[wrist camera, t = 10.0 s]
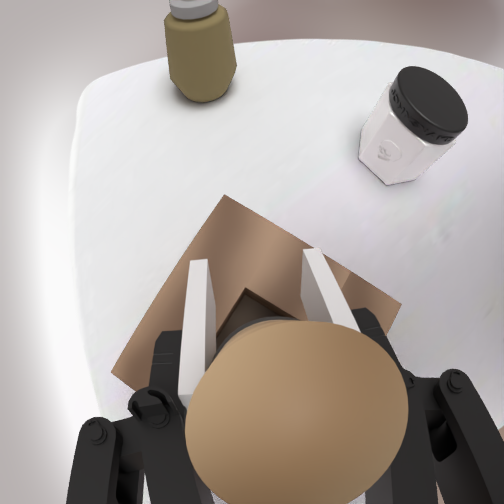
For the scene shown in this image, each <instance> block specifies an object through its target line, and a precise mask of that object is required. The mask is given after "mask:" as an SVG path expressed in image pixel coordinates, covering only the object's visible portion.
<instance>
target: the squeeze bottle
mask: <svg viewBox="0 0 504 504" xmlns="http://www.w3.org/2000/svg"><path fill="white" fill-rule="evenodd" d="M169 3H170V8H171V12H170V13H169V14H168V15H167V17H166V18H165V20H164V25H165V36H166V45H167V53H168V54H167V55H168V64H169V72H170V79H171V80H172V81H173V83H174V84H175V85H176V86H177V87H178V88H179V89H180V90H181V91H182V93H183V94H184V95H185V96H186V97H187V98H188V99H190V100H192V101H195V102H208V101H213V100H215V99H217V98H219V97H221V96H222V95H223V94H224V93H225V92H226V91H227V89H228V86H229V84H230V82H231V80H232V78H233V76H234V73H235V70H236V67H237V64H236V58H235V52H234V46H233V40H232V35H231V29H230V22H229V17H228V13H227V10H226V9H225V8H224V7H222V6H221V5H219V4H218V0H169Z"/></svg>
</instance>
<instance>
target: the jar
mask: <svg viewBox="0 0 504 504" xmlns="http://www.w3.org/2000/svg"><path fill="white" fill-rule="evenodd" d="M467 124H468V114H467V110H466V107H465V105H464V103H463V101H462V99H461V97H460V96H459V95H458V93H457V92H456V91H455V90H454V88H453V87H452V86H451V85H450V84H449V83H448V82H446V81H445V80H444V79H443V78H441V77H440V76H439V75H437V74H435V73H434V72H432V71H430V70H427V69H425V68H421V67H416V66H409V67H405V68H403V69H402V70H401V71H400V72H399V73H398V75H397V77H396V79H395V80H394V82H390V83H388V85H387V87H386V89H385V90H384V92H383V94H382V96H381V97H380V99H379V101H378V102H377V104H376V106H375V108H374V109H373V111H372V113H371V114H370V116H369V118H368V120H367V121H366V123H365V125H364V126H363V128H362V130H361V140H360V149H359V160H360V161H361V162H363V163H364V164H365V165H366V166H367V167H368V168H369V169H370V170H371V171H372V172H373V173H374V174H375V175H377V176H378V177H379V178H380V179H381V180H382V181H383V182H384V183H385V184H386V185H392V184H397V183H402V182H407V181H412V180H416V179H417V178H418V177H419V176H420V175H421V174H422V173H424V172H425V171H426V170H427V169H428V168H429V167H430V166H431V165H433V164H434V163H435V162H436V161H437V160H438V159H439V158H440V157H442V156H443V155H444V154H445V153H446V152H447V151H448V150H449V149H450V148H451V147H453V146H454V145H455V144H456V140H455V138H456V137H457V136H458V135H459V134H460V133H461V132H462V131H463V130H464V129H465V128H466V126H467Z"/></svg>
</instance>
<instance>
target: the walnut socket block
mask: <svg viewBox="0 0 504 504" xmlns="http://www.w3.org/2000/svg"><path fill="white" fill-rule="evenodd" d="M311 248H313V247H311V246H310V245H308V244H307V243H305V242H303V241H302V240H300V239H298V238H297V237H295V236H293V235H292V234H290V233H289V232H287V231H285V230H284V229H282V228H280V227H279V226H277V225H275V224H274V223H272V222H270V221H269V220H267V219H265V218H264V217H262V216H260V215H259V214H257V213H255V212H253V211H252V210H250V209H248V208H247V207H245V206H243V205H242V204H240V203H238V202H236V201H235V200H233V199H231V198H230V197H228V196H226V195H224V196H223V197H222V199H221V200H220V201H219V203H218V204H217V206H216V207H215V209H214V210H213V211H212V213H211V214H210V216H209V217H208V219H207V220H206V222H205V223H204V224H203V226H202V227H201V229H200V230H199V232H198V233H197V235H196V236H195V238H194V239H193V241H192V242H191V244H190V245H189V247H188V248H187V250H186V251H185V253H184V254H183V256H182V257H181V259H180V260H179V262H178V263H177V265H176V266H175V268H174V269H173V271H172V272H171V274H170V276H169V277H168V279H167V280H166V282H165V283H164V285H163V286H162V288H161V290H160V291H159V293H158V294H157V296H156V298H155V299H154V301H153V302H152V304H151V305H150V307H149V309H148V310H147V312H146V314H145V315H144V317H143V318H142V320H141V322H140V323H139V325H138V327H137V328H136V330H135V332H134V333H133V335H132V337H131V338H130V340H129V342H128V343H127V345H126V347H125V348H124V350H123V352H122V353H121V355H120V357H119V359H118V360H117V362H116V364H115V366H114V367H113V369H112V371H111V373H112V374H114V375H115V376H116V377H117V378H119V379H120V380H121V381H123V382H124V383H125V384H126V385H128V386H129V387H130V388H132V389H133V390H135V391H136V392H137V391H138V390H139V389H142V388H144V387H147V386H149V379H150V372H151V365H152V359H153V356H154V354H153V352H154V346H155V341H156V340H157V338H158V337H159V335H160V334H161V332H162V331H173V330H183V321H184V311H185V301H186V292H187V283H188V275H189V266H190V261H191V260H201V259H208V265H209V271H210V277H211V282H212V288H213V294H214V300H215V305H216V351H217V350H218V348H219V347H220V345H221V344H222V343H223V341H224V340H225V339H226V338H227V337H228V336H229V335H230V334H231V333H232V332H234V331H235V330H236V329H237V328H239V327H241V326H242V325H244V324H246V323H248V322H251V321H253V320H257V319H260V318H265V317H279V316H280V317H290V318H294V319H298V320H301V321H308V318H307V315H306V312H305V309H304V305H303V302H302V299H301V278H302V258H303V249H311ZM322 254H323V253H322ZM323 256H324V258H325V260H326V262H327V264H328V266H329V268H330V269H331V271H332V273H333V275H334V277H335V280H336V282H337V284H338V286H339V288H340V290H341V292H342V294H343V296H344V298H345V300H346V302H347V304H348V306H349V308H350V310H353V309H359V308H364V307H366V308H367V309H368V310H370V311H371V312H372V313H373V314H374V315H375V316H376V318H377V320H378V321H379V323H380V325H381V328H382V329H383V331H384V333H385V336H386V335H387V333H388V331H389V329H390V327H391V325H392V323H393V321H394V319H395V317H396V315H397V313H398V311H399V309H400V307H401V303H399V302H398V301H396V300H394V299H393V298H391V297H390V296H388V295H387V294H385V293H384V292H382V291H381V290H379V289H378V288H376V287H375V286H373V285H372V284H370V283H368V282H367V281H365V280H364V279H362V278H361V277H359V276H358V275H356V274H354V273H353V272H351V271H350V270H348V269H347V268H345V267H343V266H342V265H340V264H339V263H337V262H335V261H334V260H332V259H331V258H329V257H328V256H326V255H324V254H323Z"/></svg>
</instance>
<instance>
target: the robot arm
mask: <svg viewBox="0 0 504 504" xmlns="http://www.w3.org/2000/svg"><path fill="white" fill-rule="evenodd" d="M301 299H302V302H303V305H304V309H305V312H306V315H307V318H308V321H317V322H328V323H333V324H339V325H342V326H345V327H348V328H351V329H354V330H356V331H358V332H360V333H362V334H364V335H366V336H368V337H369V338H371V339H372V340H373V341H375V342H376V343H378V344H379V345H380V346H381V347H382V348H383V349H384V350H385V351H386V352H387V353H388V354H389V356H390V357H391V358H392V359H393V361H394V362H395V364H396V365H397V367H398V369H399V371H400V373H401V375H402V378H403V381H404V383H405V387H406V391H407V396H408V421H407V426H406V431H405V435H404V438H403V441H402V444H401V446H400V448H399V450H398V452H397V454H396V456H395V458H394V460H393V461H392V463H391V464H390V466H389V467H388V469H387V470H386V471H385V472H384V474H383V475H382V476H381V477H380V478H379V479H378V480H377V481H376V482H375V483H374V484H373V485H372V486H371V487H370V488H369V489H368V490H366V491H365V496H366V504H438V497H437V486H436V481H437V484H438V487H439V489H440V492H441V494H442V497H443V500H444V503H445V504H504V441H503V439H502V437H501V436H500V433H499V431H498V429H497V427H496V425H495V423H494V421H493V419H492V418H491V416H490V414H489V412H488V410H487V408H486V407H485V405H484V403H483V401H482V399H481V398H480V396H479V394H478V392H477V391H476V389H475V387H474V385H473V384H472V382H471V380H470V379H469V377H468V376H467V375H466V374H465V373H464V372H462V371H460V370H458V369H449V370H446V371H445V372H443V373H442V375H441V376H440V378H421V377H415V376H414V375H413V374H412V373H411V372H410V371H407V370H405V369H403V368H402V366H401V365H400V363H399V361H398V359H397V357H396V355H395V353H394V351H393V349H392V347H391V345H390V343H389V341H388V339H387V337H386V336H385V333H384V331H383V329H382V328H381V325H380V323H379V321H378V320H377V318H376V316H375V315H374V314H373V313H372V312H371V311H370V310H368V309H367V308H366V307H364V308H359V309H353V310H350V308H349V306H348V304H347V302H346V300H345V298H344V296H343V294H342V292H341V290H340V288H339V286H338V284H337V282H336V280H335V277H334V275H333V273H332V271H331V269H330V268H329V266H328V264H327V262H326V260H325V258H324V256H323V254H322V252H321V250H320V248H311V249H303V258H302V278H301ZM215 353H216V305H215V300H214V294H213V288H212V282H211V277H210V271H209V265H208V259H201V260H191V261H190V266H189V275H188V283H187V292H186V301H185V311H184V321H183V330H173V331H162V332H161V334H160V335H159V337H158V338H157V340H156V341H155V346H154V352H153V354H154V356H153V359H152V365H151V372H150V379H149V386H147V387H144V388H142V389H139V390H138V391H137V392H135V393H134V394H133V395H132V397H131V398H130V400H129V403H128V410H129V411H130V412H131V414H132V415H133V416H132V417H129V418H126V419H122V420H119V421H115V422H110V421H109V420H108V419H106V418H103V417H93V418H91V419H89V420H87V421H86V422H85V423H84V424H83V425H82V428H81V430H80V432H79V436H78V441H77V445H76V450H75V455H74V460H73V465H72V470H71V476H70V482H69V487H68V494H67V501H66V504H142V501H143V487H144V475H146V481H147V486H148V491H149V496H150V501H151V504H214V501H213V497H212V494H211V491H210V489H209V488H208V487H207V486H206V484H205V483H204V482H203V481H202V480H201V478H200V477H199V475H198V473H197V472H196V470H195V469H194V466H193V464H192V462H191V460H190V457H189V453H188V450H187V446H186V437H185V423H186V415H187V411H188V406H189V403H190V400H191V398H192V395H193V392H194V390H195V389H196V387H197V385H198V383H199V381H200V380H201V378H202V377H203V375H204V374H205V372H206V371H207V369H208V368H209V367H210V365H211V362H212V360H213V357H214V355H215Z"/></svg>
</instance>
